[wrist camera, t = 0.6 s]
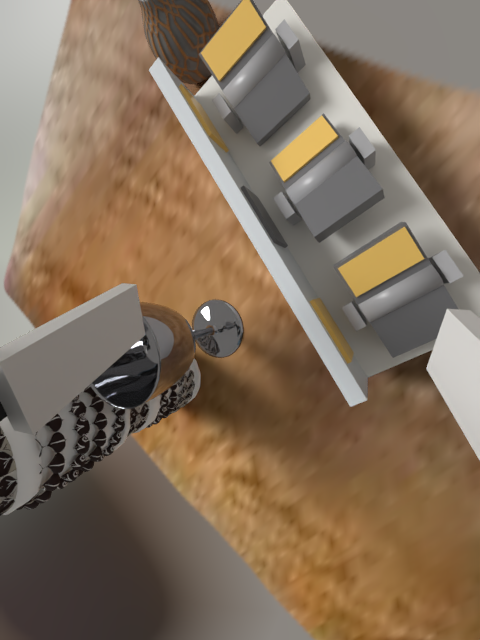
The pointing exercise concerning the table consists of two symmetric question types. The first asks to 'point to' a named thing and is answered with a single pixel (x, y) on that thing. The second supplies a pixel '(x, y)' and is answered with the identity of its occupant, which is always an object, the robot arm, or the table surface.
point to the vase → (180, 34)
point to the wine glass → (168, 351)
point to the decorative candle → (77, 441)
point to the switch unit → (288, 225)
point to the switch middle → (325, 179)
